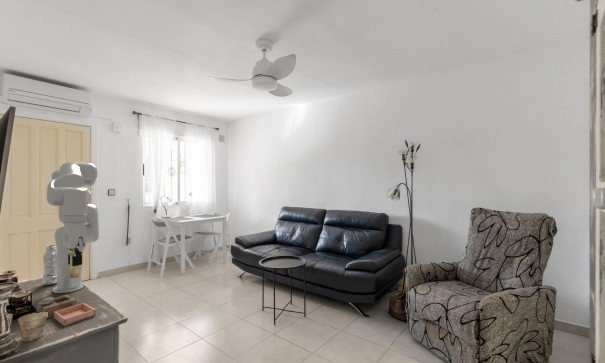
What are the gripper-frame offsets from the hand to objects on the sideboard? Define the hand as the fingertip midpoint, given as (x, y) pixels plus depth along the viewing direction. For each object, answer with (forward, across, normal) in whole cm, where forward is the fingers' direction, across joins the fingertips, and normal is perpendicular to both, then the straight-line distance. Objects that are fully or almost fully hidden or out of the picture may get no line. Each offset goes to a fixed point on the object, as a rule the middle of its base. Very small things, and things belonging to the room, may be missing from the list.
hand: (75, 264), depth 113 cm
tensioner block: (+21, -13, -2) cm, 25 cm away
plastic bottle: (+21, -52, +7) cm, 56 cm away
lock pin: (+5, 0, 0) cm, 5 cm away
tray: (+21, 0, 0) cm, 21 cm away
